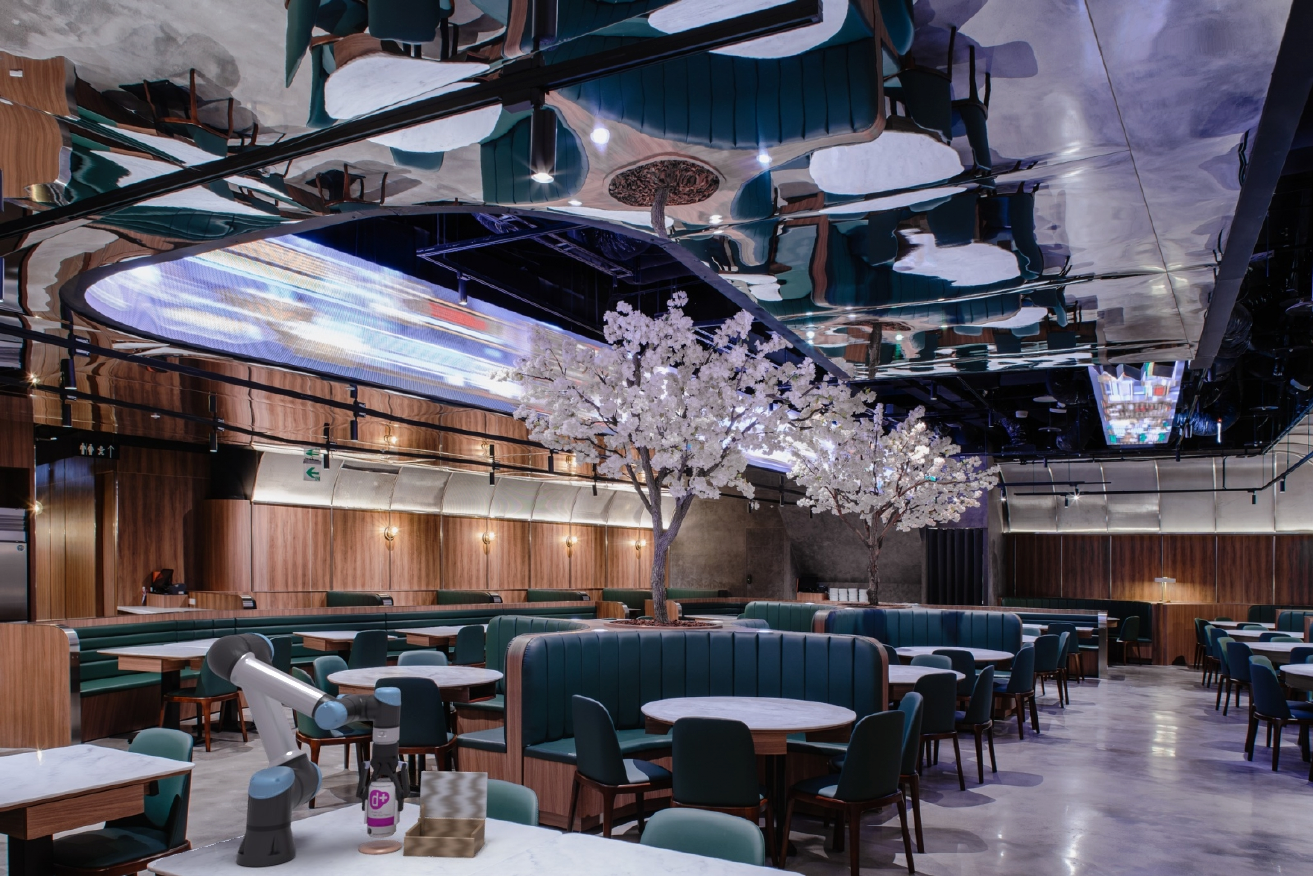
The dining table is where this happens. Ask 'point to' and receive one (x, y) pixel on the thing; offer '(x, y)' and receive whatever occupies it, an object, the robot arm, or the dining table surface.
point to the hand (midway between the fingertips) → (381, 822)
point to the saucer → (380, 847)
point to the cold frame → (449, 815)
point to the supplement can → (381, 808)
